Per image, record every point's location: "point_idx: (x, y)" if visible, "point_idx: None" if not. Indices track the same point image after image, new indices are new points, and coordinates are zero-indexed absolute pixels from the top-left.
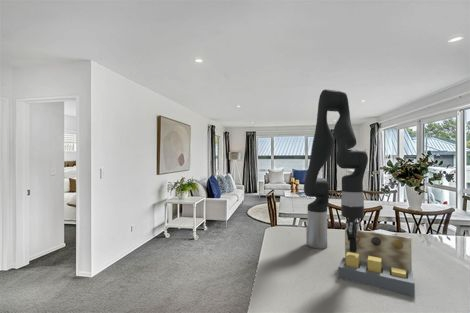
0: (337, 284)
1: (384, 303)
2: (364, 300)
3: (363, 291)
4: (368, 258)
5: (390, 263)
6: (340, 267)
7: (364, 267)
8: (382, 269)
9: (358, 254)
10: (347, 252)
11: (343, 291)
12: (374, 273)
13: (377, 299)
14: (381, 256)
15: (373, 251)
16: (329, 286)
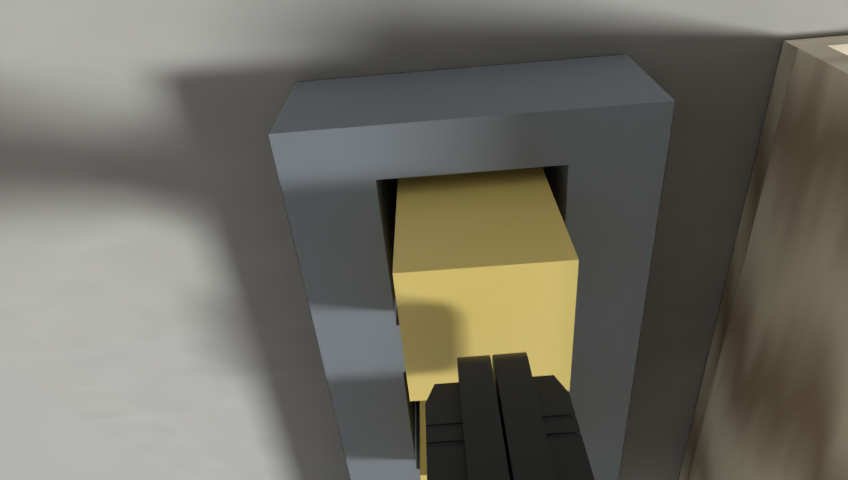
0: (143, 112)
1: (152, 417)
2: (74, 332)
3: (206, 307)
4: None
5: (734, 474)
6: (274, 158)
7: None
8: None
9: None
10: (550, 264)
11: (60, 191)
12: (369, 429)
13: (167, 385)
14: (777, 472)
15: (821, 457)
16: (26, 56)
